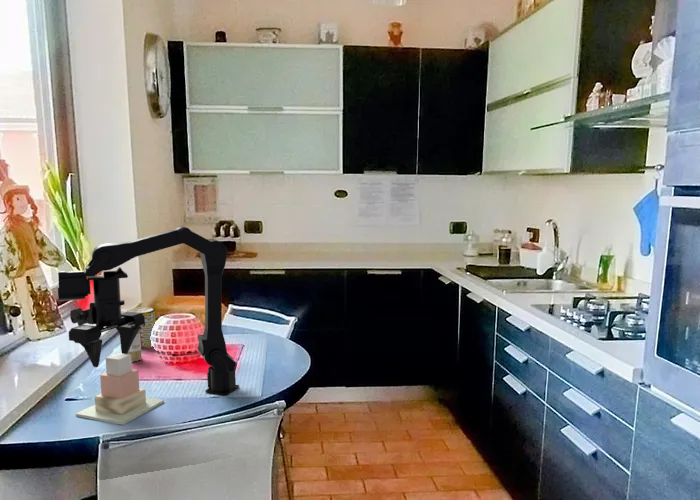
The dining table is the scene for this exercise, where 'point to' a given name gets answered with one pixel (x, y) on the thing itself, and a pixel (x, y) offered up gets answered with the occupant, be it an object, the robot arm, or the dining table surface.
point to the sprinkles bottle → (135, 348)
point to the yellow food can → (147, 327)
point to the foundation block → (120, 402)
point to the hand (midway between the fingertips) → (110, 361)
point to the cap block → (118, 364)
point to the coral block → (119, 384)
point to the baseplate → (120, 419)
